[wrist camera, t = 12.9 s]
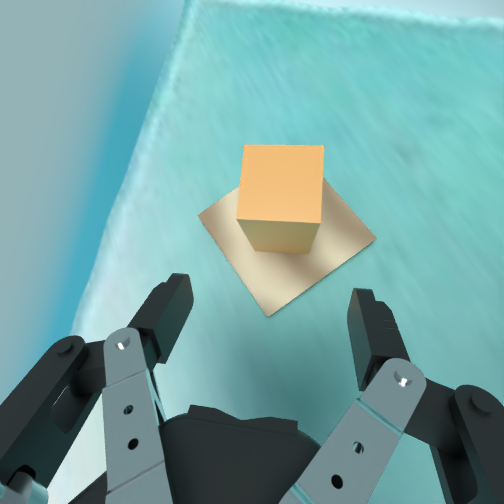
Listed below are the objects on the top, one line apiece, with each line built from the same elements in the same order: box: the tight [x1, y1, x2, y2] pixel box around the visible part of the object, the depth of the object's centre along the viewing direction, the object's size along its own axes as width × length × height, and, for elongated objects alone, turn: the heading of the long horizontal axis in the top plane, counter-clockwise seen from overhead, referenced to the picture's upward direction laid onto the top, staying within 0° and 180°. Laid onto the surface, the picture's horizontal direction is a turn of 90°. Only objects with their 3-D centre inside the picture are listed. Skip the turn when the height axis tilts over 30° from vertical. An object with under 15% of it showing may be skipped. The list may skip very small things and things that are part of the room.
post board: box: [197, 178, 377, 317], centre depth 25 cm, size 13×13×8 cm
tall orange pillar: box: [236, 145, 324, 255], centre depth 22 cm, size 5×5×10 cm
